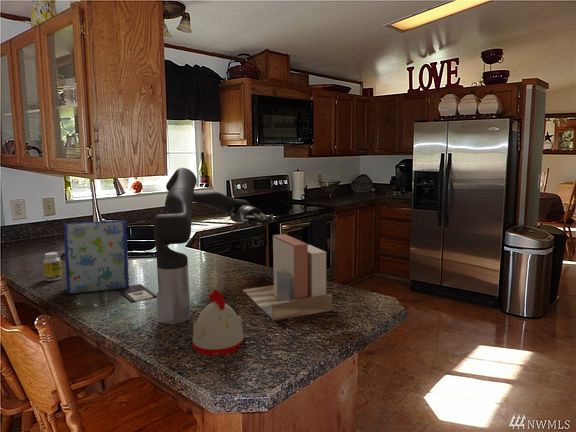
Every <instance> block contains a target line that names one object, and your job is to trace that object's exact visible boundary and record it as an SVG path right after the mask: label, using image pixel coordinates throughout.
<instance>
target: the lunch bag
mask: <svg viewBox="0 0 576 432" xmlns="http://www.w3.org/2000/svg"><path fill="white" fill-rule="evenodd" d="M63 225H64V227H63V228H64V260H65V261H64V262H65V278H66V279H65V280H66V289H67V290H66V291H67V294H79V293H80V294H81V293H90V292H99V291H100V292H101V291H109V290H110V291H111V290H117V289H121V288H129V286H130V285H129V283H130V282H129V280H130V276H129V275H130V274H129V264H130V263H129V251H128V235H127V221H126V220H118V219H114V220H101V221H99V220H98V221H86V222H85V221H84V222H72V223H71V222H70V223H64V224H63Z"/></svg>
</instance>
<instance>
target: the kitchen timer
mask: <svg viewBox="0 0 576 432" xmlns="http://www.w3.org/2000/svg"><path fill="white" fill-rule="evenodd" d="M208 297H209V298H208V299H209V303H208V304H207V305H206V306H205V307H204V308H203V309H202V310H201V312H200V314H199V316H198V317H197V319H196V321H193V327H192V329H193V330H192V333H193V334H192V348H193V350H194V351H195V352H197V353H198V354H202V355H206V356H222V355H228V354H231V353H235V352H236V351H238V350H240V345H242V343H243V342H244V340H245V335H244V330H243V320H242V317H241V315H237V313H236V312H235V310H234V309H233V308H232V307H231V306H230V305H229V304H228V303H227V302H226V299H224V294H223V293H220V290H217V289H214V290H213V292H211V294H209V295H208Z"/></svg>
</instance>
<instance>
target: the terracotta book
mask: <svg viewBox="0 0 576 432" xmlns="http://www.w3.org/2000/svg"><path fill="white" fill-rule="evenodd" d="M308 245H309V244H308V243H306V242H303V241H302V240H299V239H297V238H295V237H292V236H290V235H288V234H286V233H284V234H283V233H282V234H273V235H272V252H273V253H272V255H273V256H272V257H273V258H272V260H273V261H272V262H273V263H272V264H273V269H272V270H273V285H274V297H275V298H277V270H279V271H281V272H282V273H284V274H285V275H287V276H289V277H290V278H291V300H294V299H301V298H307V297H308Z"/></svg>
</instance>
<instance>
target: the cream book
mask: <svg viewBox="0 0 576 432" xmlns="http://www.w3.org/2000/svg"><path fill="white" fill-rule="evenodd" d="M326 294H327V251H324V250H323V249H320V248H318V247H315V246H314V245H312V244H308V297H313V296H320V295H326Z"/></svg>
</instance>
